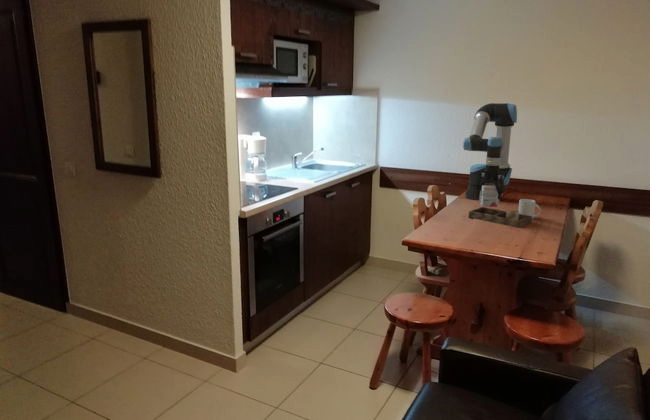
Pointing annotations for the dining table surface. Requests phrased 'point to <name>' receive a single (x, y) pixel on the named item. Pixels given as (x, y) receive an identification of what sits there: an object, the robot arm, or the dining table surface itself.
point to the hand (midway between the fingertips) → (488, 203)
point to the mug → (528, 207)
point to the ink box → (488, 196)
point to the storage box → (498, 217)
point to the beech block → (512, 215)
